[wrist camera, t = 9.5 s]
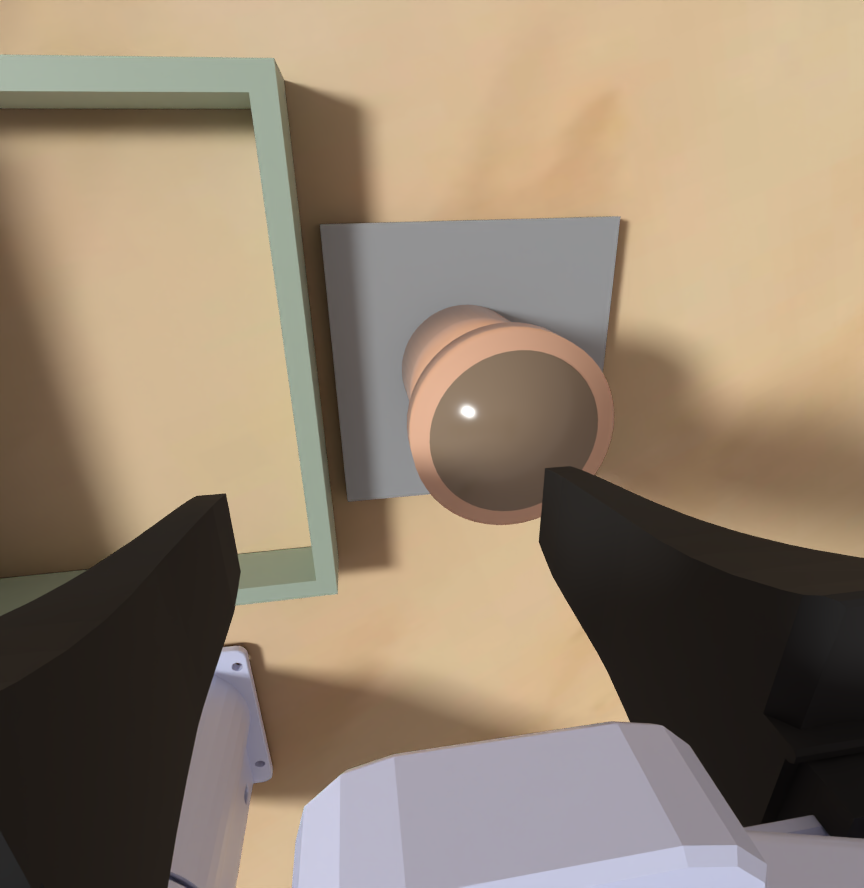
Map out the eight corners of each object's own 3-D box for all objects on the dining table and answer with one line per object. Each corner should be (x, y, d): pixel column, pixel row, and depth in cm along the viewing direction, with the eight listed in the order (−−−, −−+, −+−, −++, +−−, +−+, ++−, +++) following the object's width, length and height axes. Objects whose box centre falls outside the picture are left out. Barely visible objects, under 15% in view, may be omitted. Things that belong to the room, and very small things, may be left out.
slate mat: (585, 473, 24) (590, 479, 24) (347, 494, 23) (347, 501, 22) (613, 216, 20) (620, 216, 19) (320, 224, 19) (319, 224, 18)
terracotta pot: (530, 430, 22) (603, 515, 16) (395, 440, 22) (415, 534, 15) (538, 290, 20) (627, 325, 14) (387, 297, 19) (406, 337, 13)
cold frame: (338, 558, 24) (335, 657, 19) (-31, 597, 22) (-154, 720, 17) (283, 79, 17) (253, 14, 11) (-280, 75, 15) (-644, -7, 9)
